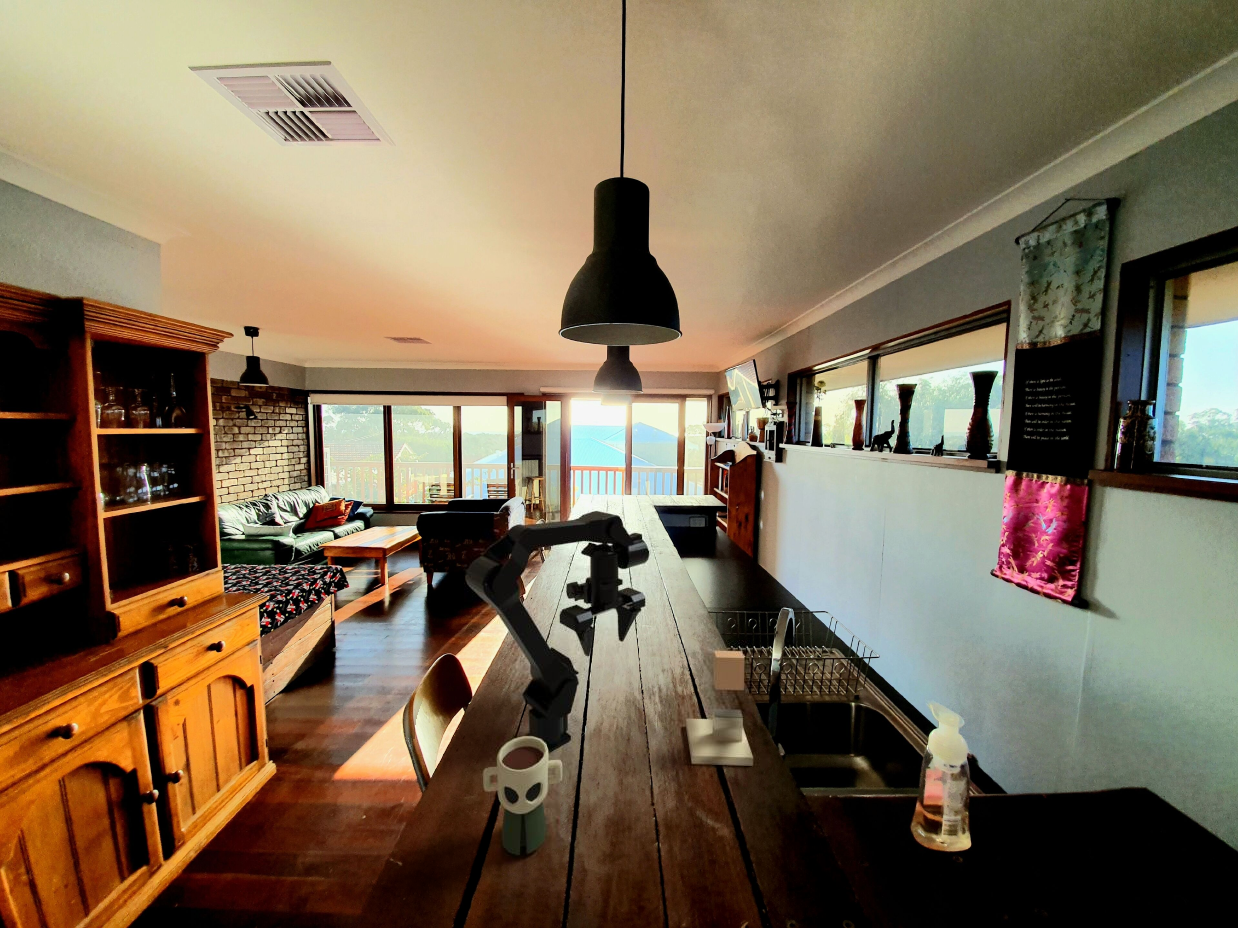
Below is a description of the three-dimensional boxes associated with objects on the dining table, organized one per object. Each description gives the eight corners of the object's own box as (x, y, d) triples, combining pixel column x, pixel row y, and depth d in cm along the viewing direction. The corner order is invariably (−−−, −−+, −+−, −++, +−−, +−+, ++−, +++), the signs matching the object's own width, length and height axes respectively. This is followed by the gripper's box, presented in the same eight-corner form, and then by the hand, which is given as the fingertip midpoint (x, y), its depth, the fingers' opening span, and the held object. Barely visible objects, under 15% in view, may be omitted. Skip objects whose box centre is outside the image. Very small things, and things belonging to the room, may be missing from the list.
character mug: (481, 867, 61) (479, 776, 60) (488, 822, 68) (485, 739, 67) (563, 855, 63) (562, 766, 62) (562, 812, 70) (561, 731, 69)
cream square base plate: (691, 763, 80) (692, 729, 79) (686, 725, 90) (686, 695, 89) (752, 765, 79) (753, 731, 79) (740, 727, 89) (741, 697, 89)
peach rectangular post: (715, 689, 82) (716, 657, 82) (713, 681, 85) (714, 650, 84) (743, 689, 82) (744, 657, 81) (740, 682, 84) (741, 651, 84)
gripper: (612, 556, 105) (612, 622, 106) (543, 574, 92) (544, 648, 94) (647, 567, 97) (647, 638, 98) (576, 589, 84) (577, 670, 85)
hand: (604, 647), depth 94 cm, fingers open, 9 cm apart
